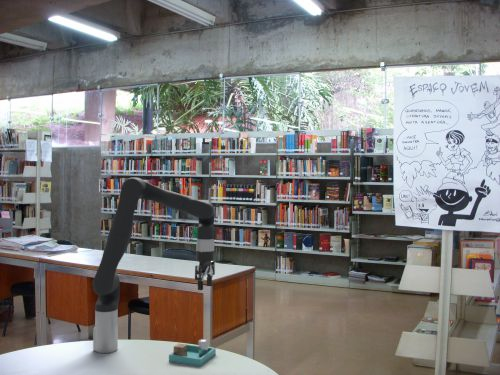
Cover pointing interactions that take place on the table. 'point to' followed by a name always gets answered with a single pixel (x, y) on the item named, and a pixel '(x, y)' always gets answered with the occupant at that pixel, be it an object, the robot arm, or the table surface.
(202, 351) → the metal cylinder
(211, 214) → the robot arm
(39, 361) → the table surface
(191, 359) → the parts tray
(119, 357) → the table surface
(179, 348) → the walnut block
